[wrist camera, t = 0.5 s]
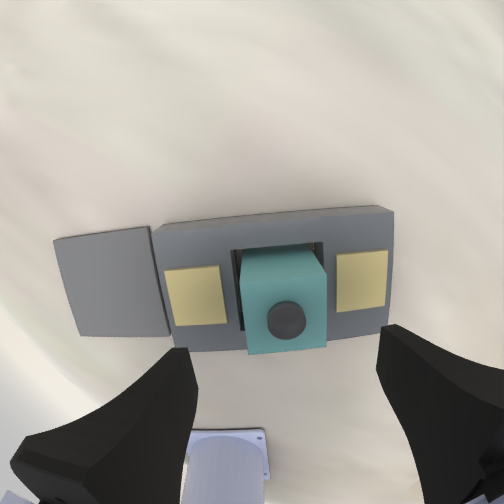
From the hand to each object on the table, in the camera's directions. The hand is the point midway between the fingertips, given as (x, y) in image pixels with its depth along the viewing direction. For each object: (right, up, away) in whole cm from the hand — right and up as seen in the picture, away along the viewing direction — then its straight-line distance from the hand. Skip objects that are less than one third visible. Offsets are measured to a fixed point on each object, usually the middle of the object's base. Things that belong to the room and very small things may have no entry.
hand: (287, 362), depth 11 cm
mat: (-12, +1, +10) cm, 15 cm away
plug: (0, +3, +10) cm, 10 cm away
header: (0, +3, +9) cm, 10 cm away
